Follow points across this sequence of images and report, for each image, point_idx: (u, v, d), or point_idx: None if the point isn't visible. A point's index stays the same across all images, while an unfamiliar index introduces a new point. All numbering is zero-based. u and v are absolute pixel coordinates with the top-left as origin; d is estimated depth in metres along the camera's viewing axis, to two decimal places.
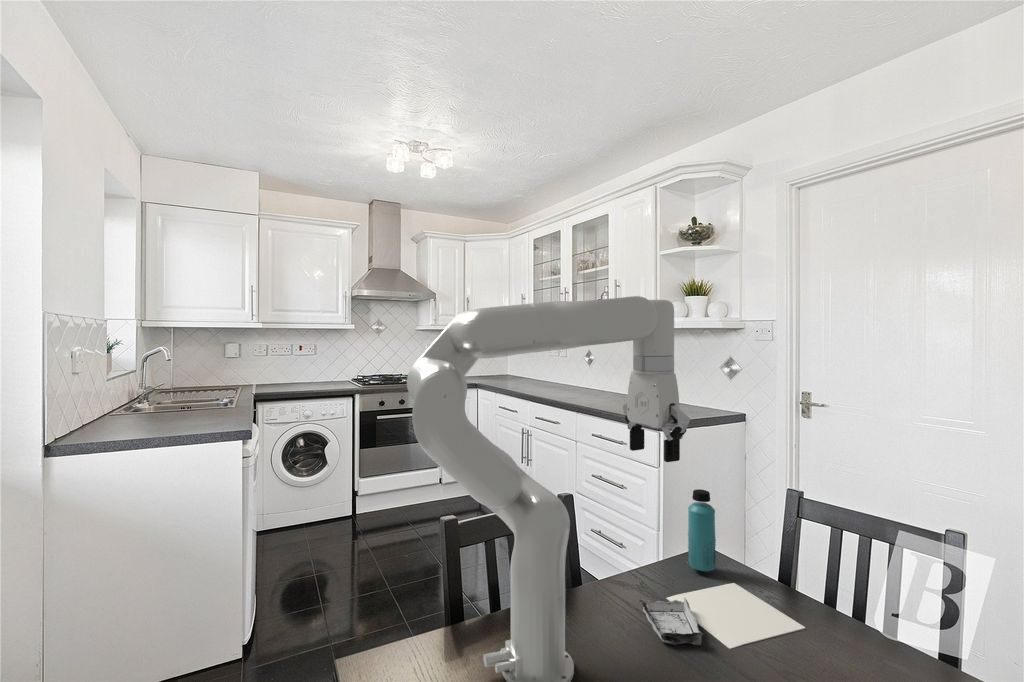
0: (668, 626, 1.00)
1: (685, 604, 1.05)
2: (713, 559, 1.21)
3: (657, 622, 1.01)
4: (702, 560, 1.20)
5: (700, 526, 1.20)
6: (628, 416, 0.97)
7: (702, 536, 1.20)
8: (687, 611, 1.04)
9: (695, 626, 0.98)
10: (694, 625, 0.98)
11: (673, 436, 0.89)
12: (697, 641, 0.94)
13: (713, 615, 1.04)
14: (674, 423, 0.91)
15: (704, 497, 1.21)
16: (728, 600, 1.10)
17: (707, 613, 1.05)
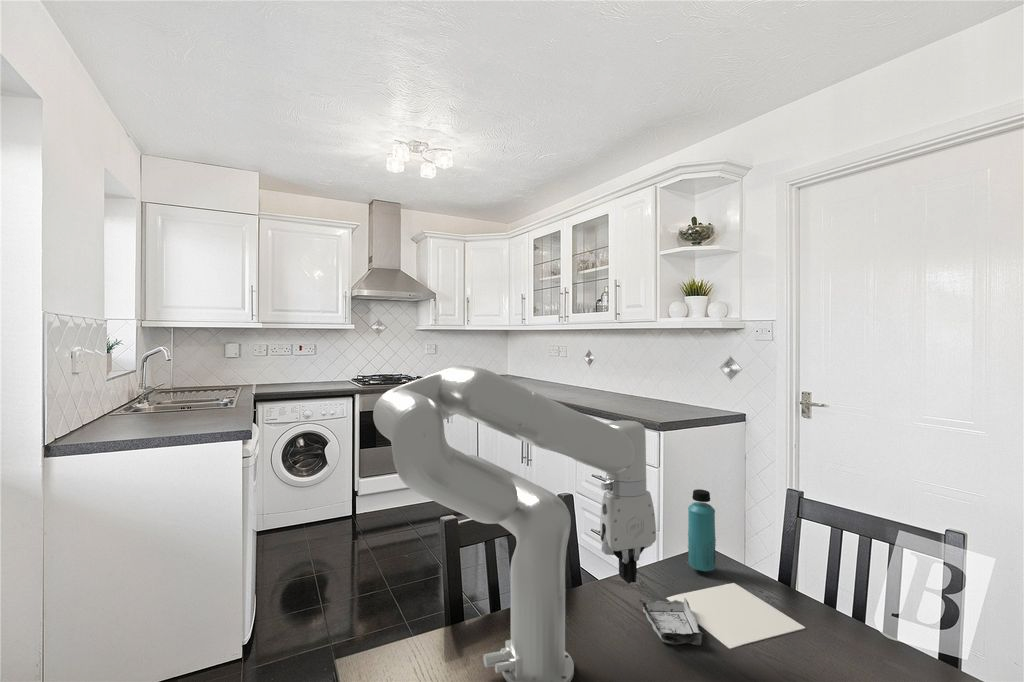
0: (668, 626, 1.00)
1: (685, 604, 1.05)
2: (713, 559, 1.21)
3: (657, 622, 1.01)
4: (702, 560, 1.20)
5: (700, 526, 1.20)
6: (616, 547, 0.93)
7: (702, 536, 1.20)
8: (687, 611, 1.04)
9: (695, 626, 0.98)
10: (694, 625, 0.98)
11: None
12: (697, 641, 0.94)
13: (713, 615, 1.04)
14: None
15: (704, 497, 1.21)
16: (728, 600, 1.10)
17: (707, 613, 1.05)
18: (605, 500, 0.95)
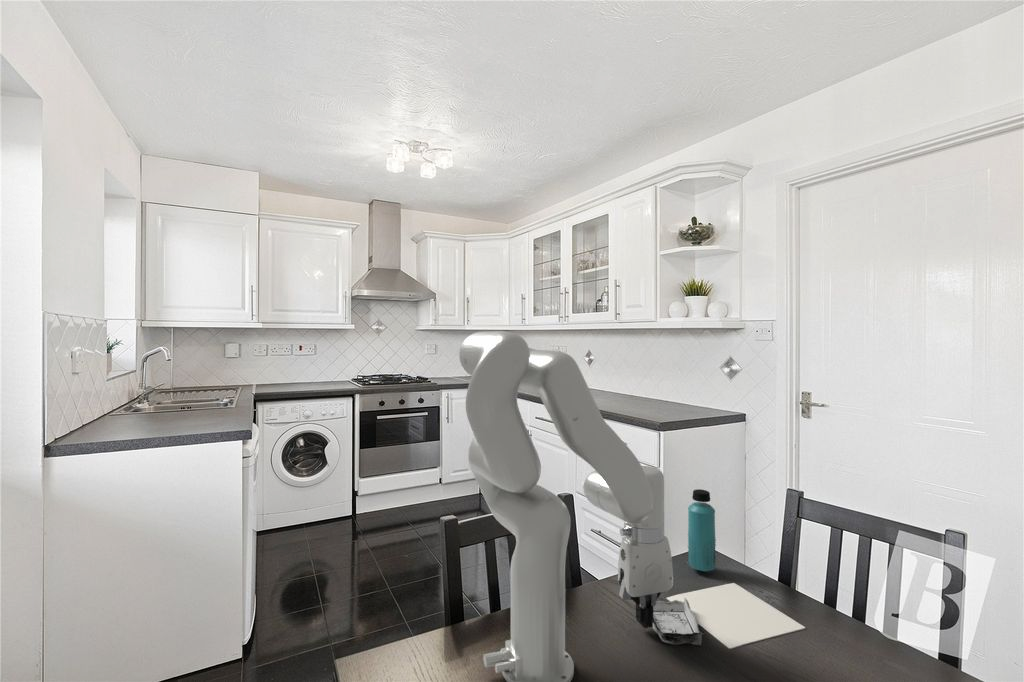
0: (668, 626, 1.00)
1: (685, 604, 1.05)
2: (713, 559, 1.21)
3: (657, 622, 1.01)
4: (702, 560, 1.20)
5: (700, 526, 1.20)
6: (634, 593, 0.94)
7: (702, 536, 1.20)
8: (687, 611, 1.04)
9: (695, 626, 0.98)
10: (694, 625, 0.98)
11: None
12: (697, 641, 0.94)
13: (713, 615, 1.04)
14: None
15: (704, 497, 1.21)
16: (728, 600, 1.10)
17: (707, 613, 1.05)
18: (623, 546, 0.96)
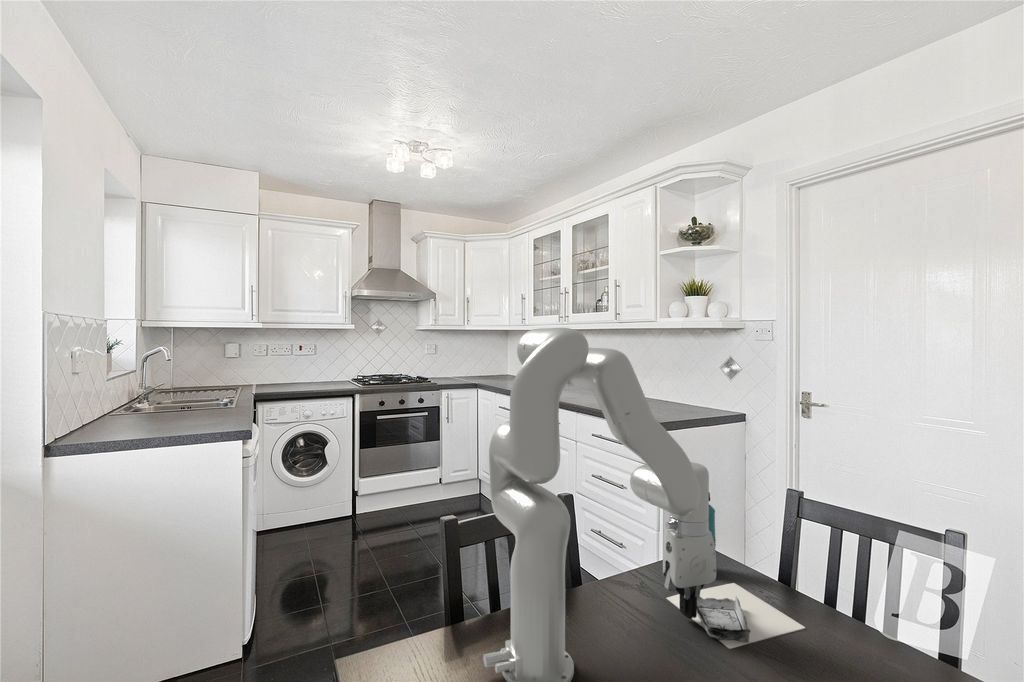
0: (717, 622, 1.01)
1: (736, 603, 1.06)
2: None
3: (706, 617, 1.03)
4: None
5: None
6: (680, 584, 0.97)
7: None
8: (738, 609, 1.04)
9: (744, 624, 0.98)
10: (743, 623, 0.99)
11: None
12: (745, 638, 0.94)
13: None
14: None
15: None
16: None
17: None
18: (669, 538, 1.00)
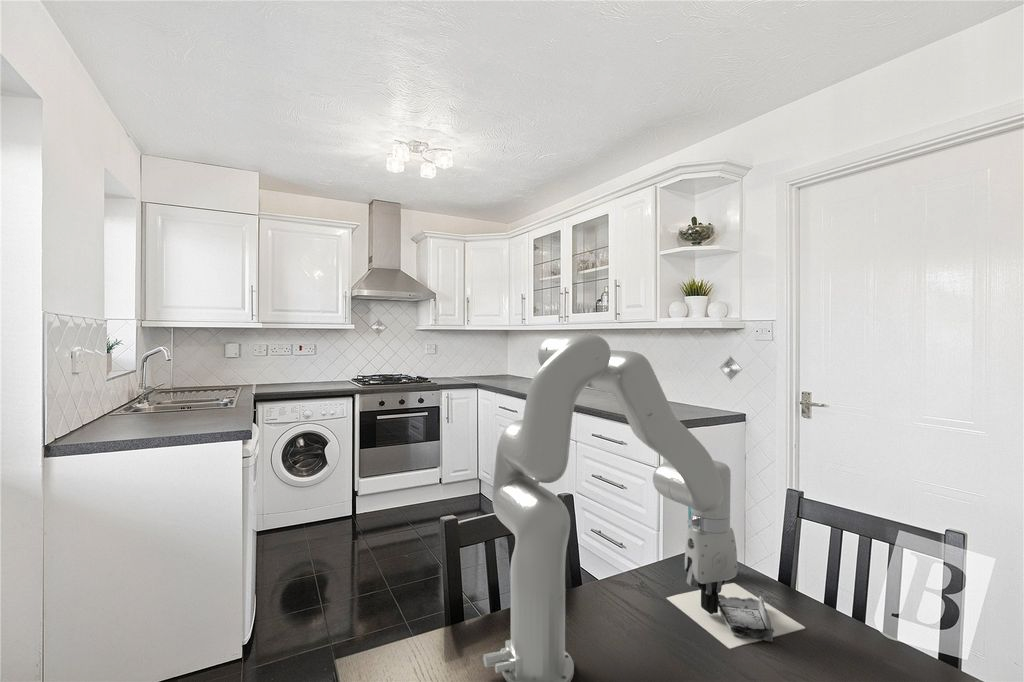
0: (740, 621, 1.01)
1: (760, 602, 1.06)
2: None
3: (729, 616, 1.03)
4: None
5: None
6: (703, 579, 0.99)
7: None
8: (762, 609, 1.04)
9: (768, 623, 0.98)
10: (767, 622, 0.99)
11: None
12: (768, 637, 0.95)
13: (713, 615, 1.04)
14: None
15: None
16: None
17: (707, 613, 1.05)
18: (691, 535, 1.02)
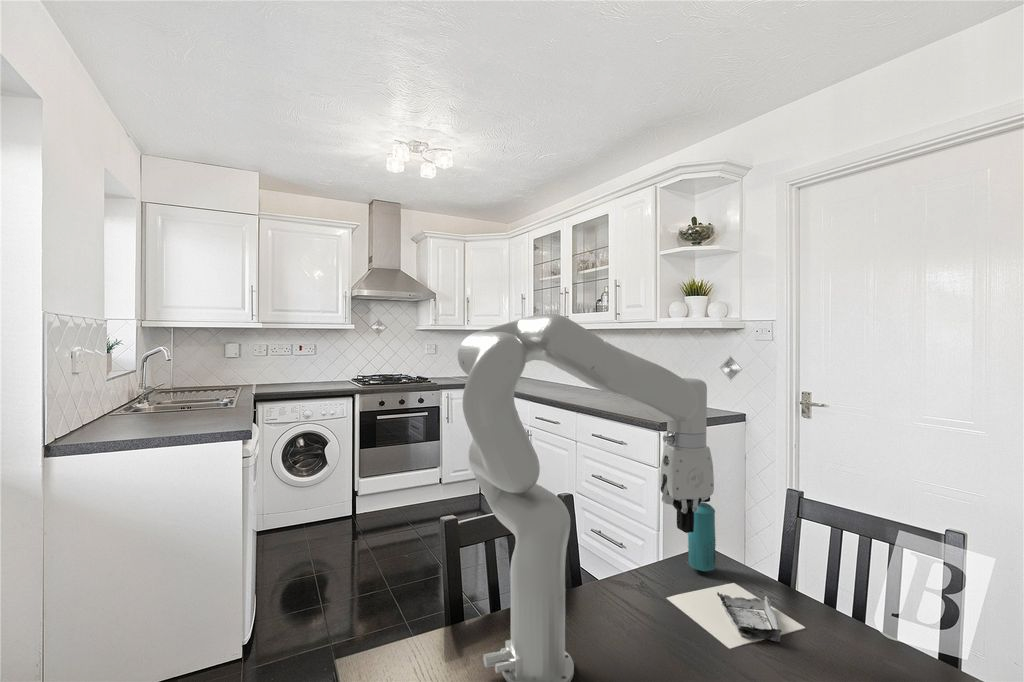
0: (747, 622, 1.01)
1: (766, 602, 1.06)
2: (713, 559, 1.21)
3: (735, 617, 1.03)
4: (702, 560, 1.20)
5: (700, 526, 1.20)
6: (677, 495, 0.97)
7: (702, 536, 1.20)
8: (767, 609, 1.04)
9: (775, 624, 0.98)
10: (774, 623, 0.99)
11: None
12: (776, 637, 0.95)
13: (713, 615, 1.04)
14: None
15: None
16: None
17: (707, 613, 1.05)
18: (667, 452, 1.00)
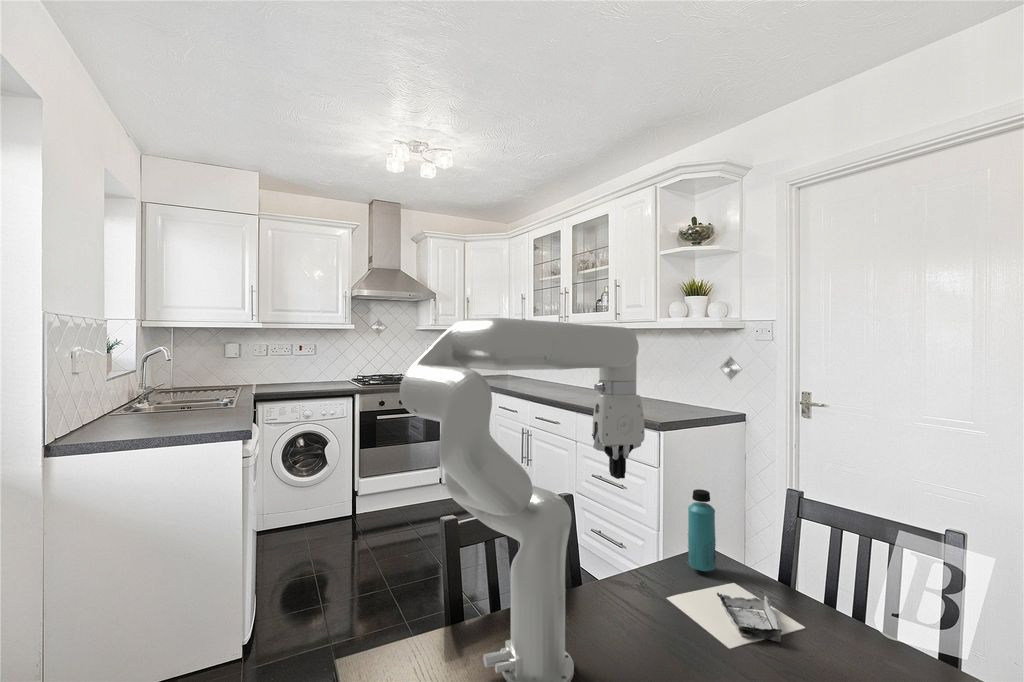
0: (747, 622, 1.01)
1: (765, 602, 1.06)
2: (713, 559, 1.21)
3: (735, 617, 1.03)
4: (702, 560, 1.20)
5: (700, 526, 1.20)
6: (607, 441, 1.00)
7: (702, 536, 1.20)
8: (767, 609, 1.04)
9: (775, 623, 0.98)
10: (774, 622, 0.99)
11: None
12: (776, 637, 0.95)
13: (713, 615, 1.04)
14: None
15: (704, 497, 1.21)
16: None
17: (707, 613, 1.05)
18: (598, 400, 1.02)
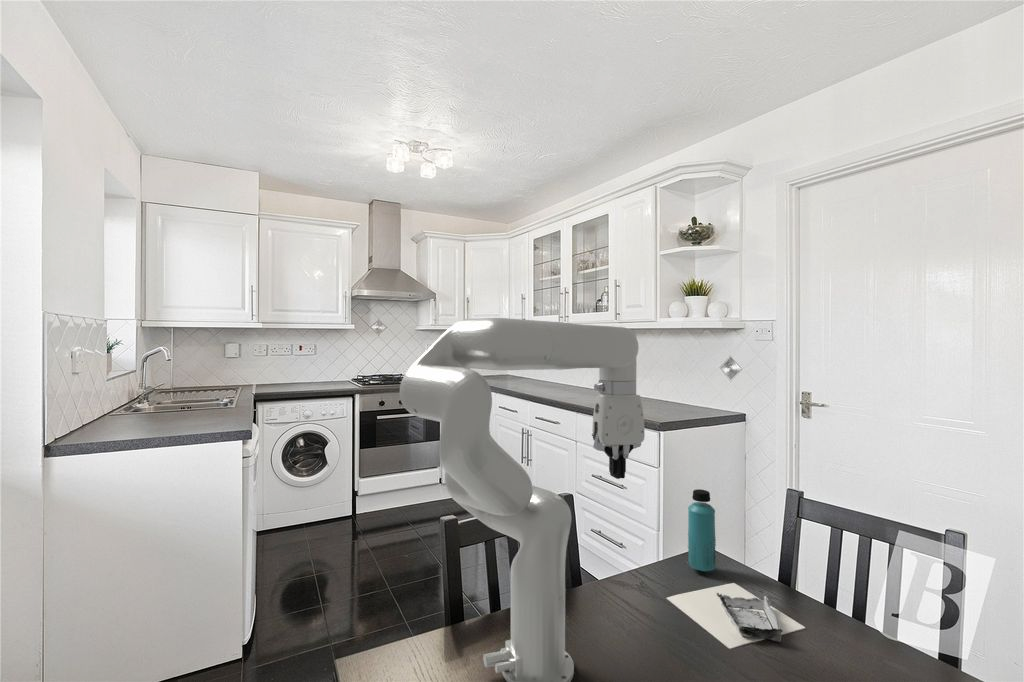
0: (747, 622, 1.01)
1: (765, 602, 1.06)
2: (713, 559, 1.21)
3: (735, 617, 1.03)
4: (702, 560, 1.20)
5: (700, 526, 1.20)
6: (607, 441, 1.00)
7: (702, 536, 1.20)
8: (767, 609, 1.04)
9: (775, 623, 0.98)
10: (774, 622, 0.99)
11: None
12: (777, 637, 0.95)
13: (713, 615, 1.04)
14: None
15: (704, 497, 1.21)
16: None
17: (707, 613, 1.05)
18: (597, 400, 1.02)
